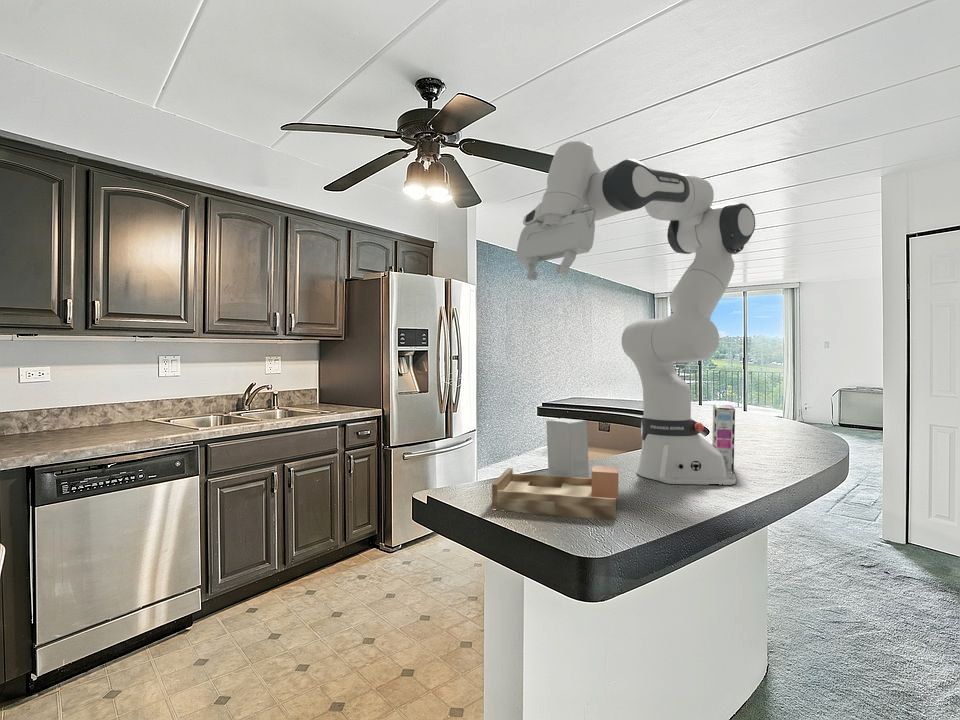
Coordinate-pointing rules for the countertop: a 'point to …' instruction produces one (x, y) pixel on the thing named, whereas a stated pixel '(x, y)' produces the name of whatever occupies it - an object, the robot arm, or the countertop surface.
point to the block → (605, 482)
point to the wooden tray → (550, 496)
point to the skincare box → (567, 448)
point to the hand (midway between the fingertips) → (545, 277)
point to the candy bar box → (724, 433)
